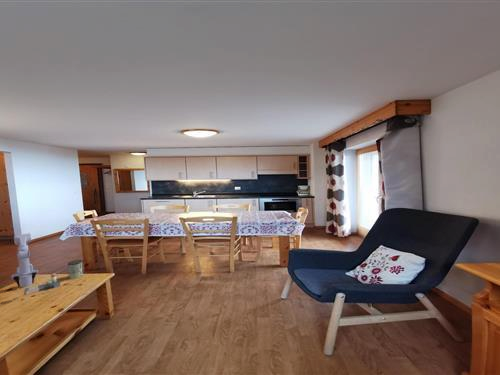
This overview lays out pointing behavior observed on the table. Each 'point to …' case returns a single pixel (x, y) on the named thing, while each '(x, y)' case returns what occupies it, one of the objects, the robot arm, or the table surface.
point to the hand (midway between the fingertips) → (26, 284)
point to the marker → (53, 278)
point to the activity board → (38, 288)
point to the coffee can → (75, 269)
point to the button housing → (49, 286)
